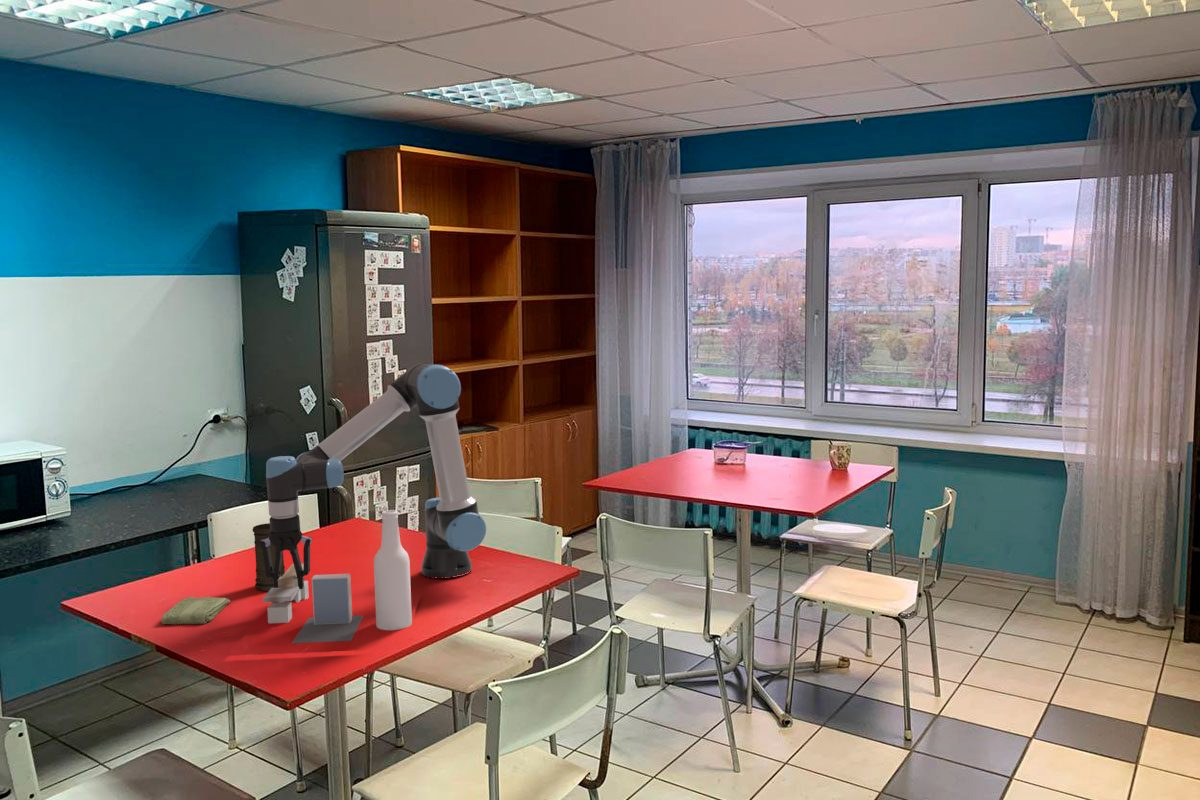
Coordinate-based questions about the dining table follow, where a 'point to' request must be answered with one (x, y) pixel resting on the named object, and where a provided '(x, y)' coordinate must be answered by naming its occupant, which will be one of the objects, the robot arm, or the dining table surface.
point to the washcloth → (194, 610)
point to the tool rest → (284, 608)
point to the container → (261, 578)
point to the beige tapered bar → (284, 587)
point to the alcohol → (392, 578)
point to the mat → (327, 631)
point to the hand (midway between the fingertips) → (290, 601)
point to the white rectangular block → (332, 599)
